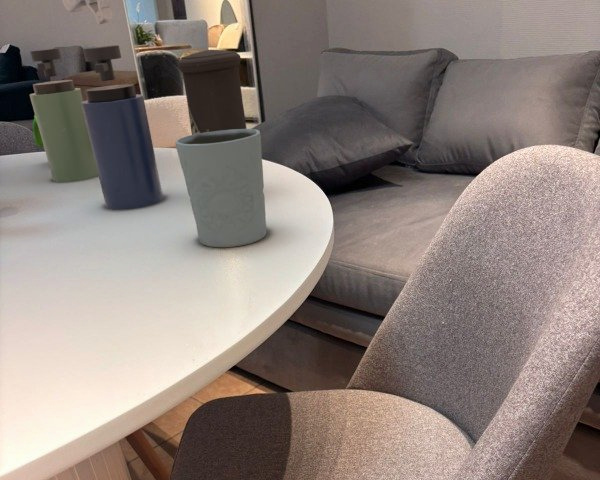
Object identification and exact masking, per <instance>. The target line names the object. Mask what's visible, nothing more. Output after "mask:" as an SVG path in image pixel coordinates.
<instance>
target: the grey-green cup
mask: <svg viewBox="0 0 600 480" xmlns="http://www.w3.org/2000/svg"><path fill="white" fill-rule="evenodd" d="M174 144H175V147H176V152H177V156H178V159H179V164H180V167H181V170H182V173H183V177H184V181H185V185H186V190H187V194H188V196H189V201H190V205H191V209H192V213H193V218H194V221H195V225H196V232H197V235H198V236H197V237H198V239H199V242H200V243H201V244H202V245H203V246H207V247H211V248H232V247H233V248H234V247H240V246H245V245H249V244H253V243H255V242H258V241H260V240H262V239H263V238H265V237H266V236H267V229H268V228H267V219H266V218H267V217H266V200H265V199H266V198H265V193H264V186H265V184H264V168H263V167H264V165H263V156H262V137H261V131H260V130H259V129H257V128H256V129H254V128H246V129H232V130H221V131H213V132H205V133H200V134H194V135H192V134H191V135H190V134H189V135H186V136H184V137H180V138H178V139H176V141H175V143H174Z"/></svg>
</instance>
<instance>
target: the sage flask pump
mask: <svg viewBox="0 0 600 480" xmlns="http://www.w3.org/2000/svg"><path fill="white" fill-rule="evenodd" d="M29 54H30V58H31V61H32V62H33V63H35V62H40V63H37V64H36V65H37V69H38V71H43V72H44V76H45V77H46V78H50V77H57V76H58V74H57V69H56V66H55V62H54V60H60V59H62V54H61V50H60V48H58V47H56V48H47V49H46V48H45V49H36V50H30V51H29Z"/></svg>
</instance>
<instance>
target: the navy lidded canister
mask: <svg viewBox="0 0 600 480" xmlns="http://www.w3.org/2000/svg"><path fill="white" fill-rule="evenodd" d="M84 92H85V95H86V100H83V102H81V105H82V109H83V114H84V118H85V122H86V126H87V130H88V134H89V138H90V142H91V147H92V151H93V155H94V159H95V163H96V167H97V171H98V179H99V183H100V187H101V191H102V197H103V200H104V204H105V207H106V209H109V210H114V211H115V210H116V211H125V210H135V209H136V210H137V209H141V208H145V207H149V206H152V205H156V204H158V203H160V202H162V201H163V199H164V196H163V191H162V187H161V186H162V185H161V180H160V175H159V169H158V165H157V159H156V154H155V149H154V143H153V139H152V134H151V129H150V123H149V118H148V114H147V107H146V103H145V97H144V95H143V94H139V93H138V94H137V92H136V87H135V85H134V83H133V84H132V83H127V84H126V83H125V84H115V85H113V84H112V85H106V86H105V85H104V86H98V87H92V88H88V89H85V90H84Z"/></svg>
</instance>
